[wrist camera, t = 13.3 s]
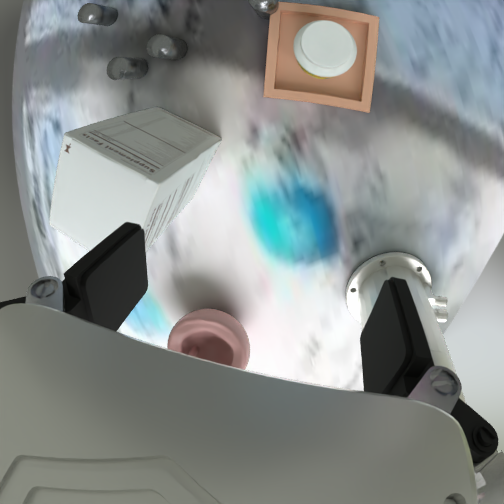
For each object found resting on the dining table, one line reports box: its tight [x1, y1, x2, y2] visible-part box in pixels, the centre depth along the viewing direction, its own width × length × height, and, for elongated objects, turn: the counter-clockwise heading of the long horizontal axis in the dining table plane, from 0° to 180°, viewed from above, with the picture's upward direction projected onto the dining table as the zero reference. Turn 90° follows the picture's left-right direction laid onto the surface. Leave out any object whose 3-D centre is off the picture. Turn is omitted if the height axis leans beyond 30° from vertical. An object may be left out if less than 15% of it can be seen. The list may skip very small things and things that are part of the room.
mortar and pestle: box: [167, 309, 250, 370], centre depth 43 cm, size 12×12×11 cm
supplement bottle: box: [293, 20, 357, 79], centre depth 22 cm, size 5×5×10 cm
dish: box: [264, 2, 379, 113], centre depth 26 cm, size 11×11×2 cm
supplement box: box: [49, 107, 222, 252], centre depth 28 cm, size 10×9×17 cm
